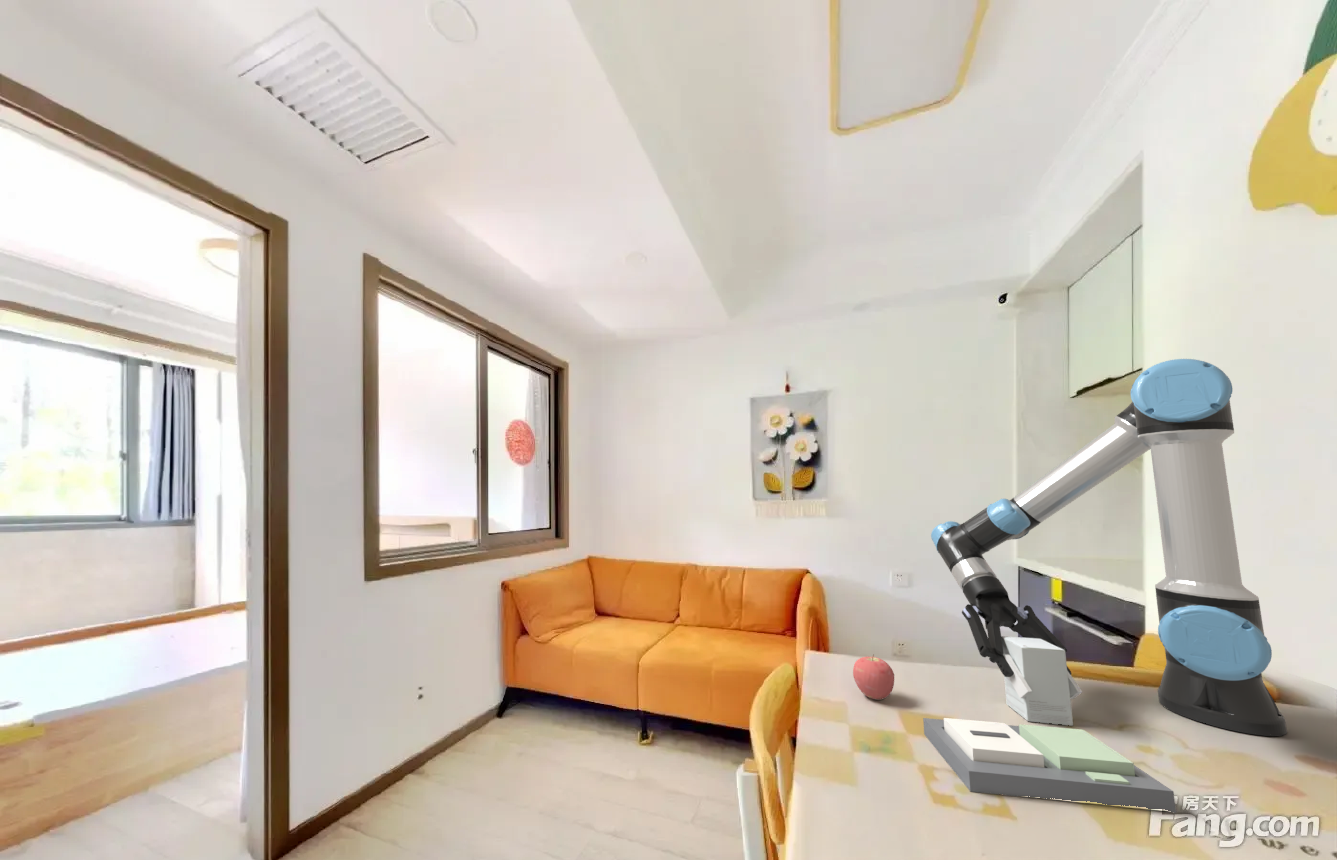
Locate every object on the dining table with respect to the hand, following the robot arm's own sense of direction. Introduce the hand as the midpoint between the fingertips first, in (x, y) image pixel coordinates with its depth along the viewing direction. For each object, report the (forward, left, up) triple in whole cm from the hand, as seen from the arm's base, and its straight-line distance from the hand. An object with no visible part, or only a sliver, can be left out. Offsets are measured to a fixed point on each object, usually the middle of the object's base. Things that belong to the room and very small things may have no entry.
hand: (1051, 695), depth 80 cm
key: (+7, +16, -3) cm, 17 cm away
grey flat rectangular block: (+13, +16, -5) cm, 21 cm away
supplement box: (+1, -3, -5) cm, 6 cm away
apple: (+29, -5, -5) cm, 29 cm away
